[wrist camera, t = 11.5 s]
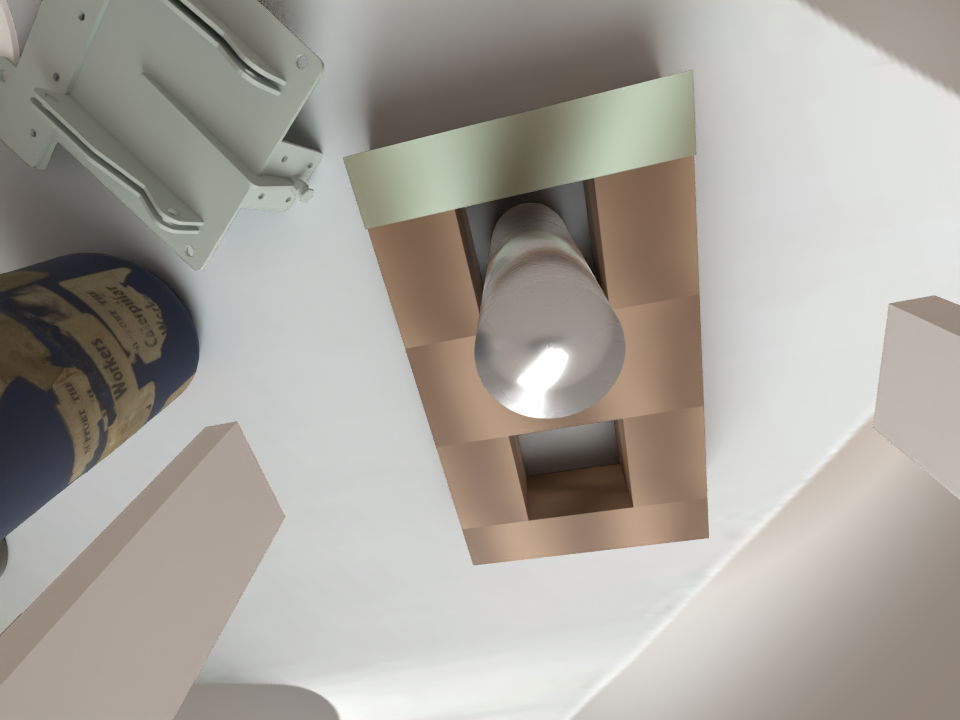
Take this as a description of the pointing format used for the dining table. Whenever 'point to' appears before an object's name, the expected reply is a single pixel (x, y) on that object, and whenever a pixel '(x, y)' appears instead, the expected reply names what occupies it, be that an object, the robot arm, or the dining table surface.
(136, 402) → the canister
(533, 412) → the steel pin
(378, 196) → the pin plate
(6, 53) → the white upright piece
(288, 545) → the dining table surface
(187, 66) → the metal bracket
